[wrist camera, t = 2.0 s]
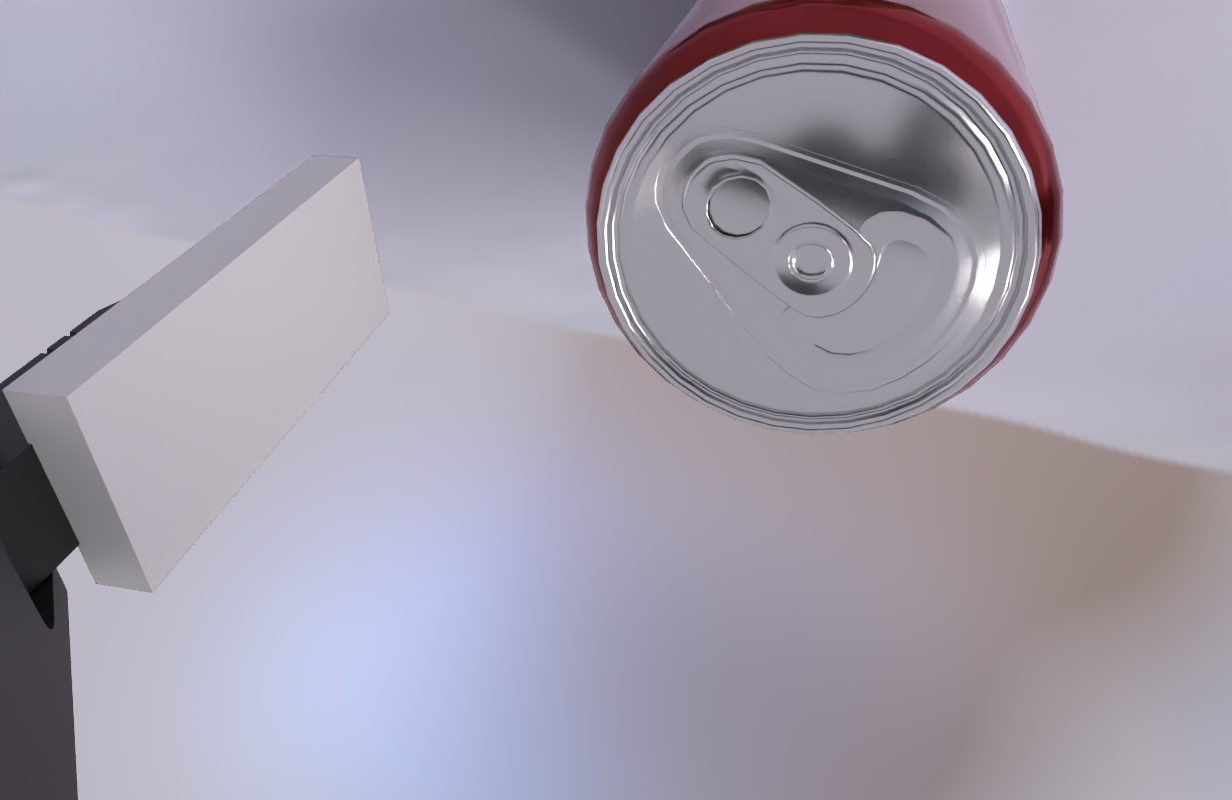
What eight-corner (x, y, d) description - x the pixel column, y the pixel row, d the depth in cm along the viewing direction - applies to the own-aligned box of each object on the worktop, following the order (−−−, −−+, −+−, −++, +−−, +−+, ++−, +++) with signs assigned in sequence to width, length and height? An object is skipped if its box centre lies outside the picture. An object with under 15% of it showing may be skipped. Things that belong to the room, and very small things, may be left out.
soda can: (1068, 34, 23) (1188, 254, 13) (845, 239, 27) (812, 520, 17) (845, -189, 21) (796, -124, 12) (646, 64, 25) (490, 264, 16)
